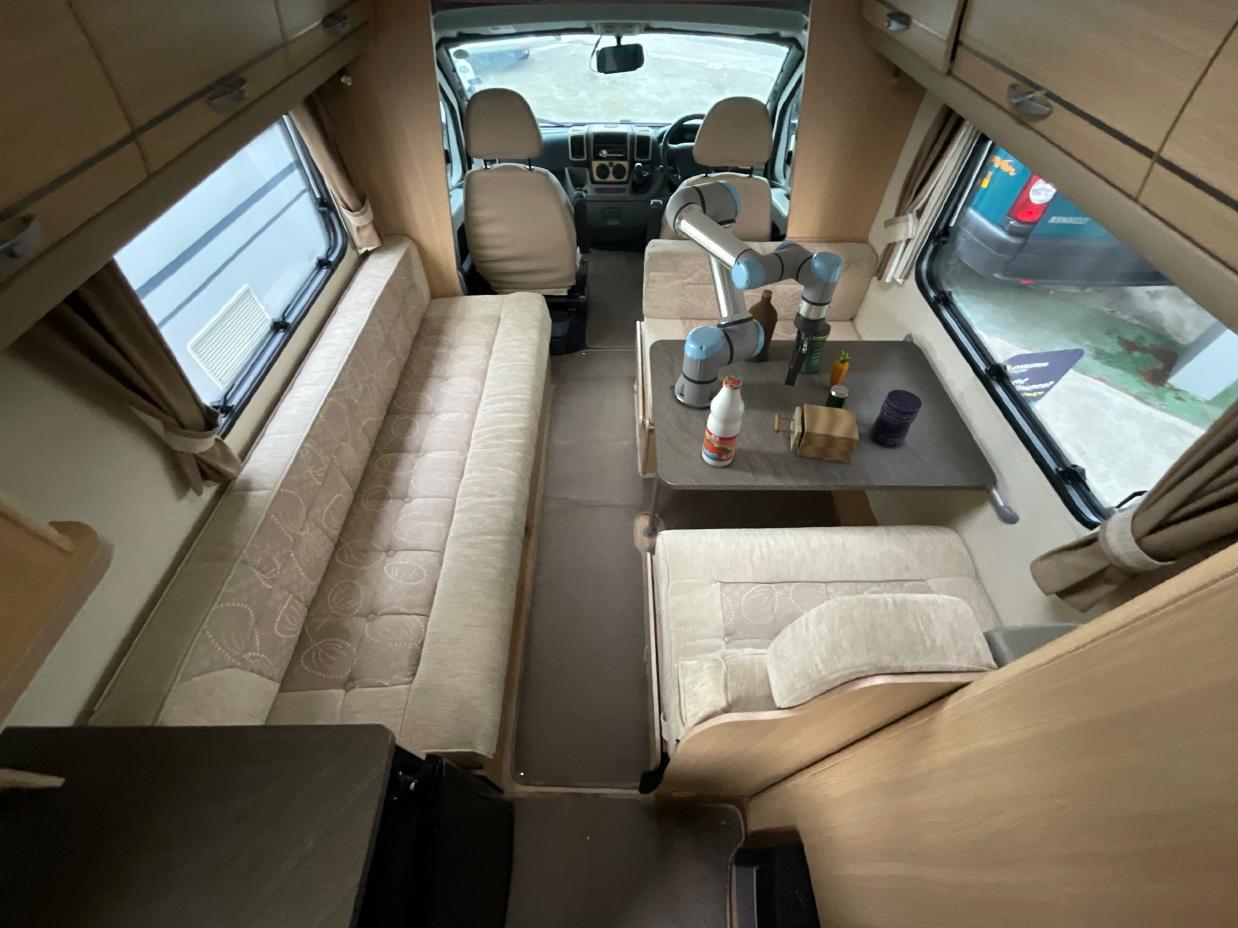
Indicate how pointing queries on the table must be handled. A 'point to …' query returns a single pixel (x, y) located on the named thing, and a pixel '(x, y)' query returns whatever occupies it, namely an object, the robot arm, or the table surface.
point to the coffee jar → (816, 349)
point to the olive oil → (764, 322)
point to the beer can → (837, 397)
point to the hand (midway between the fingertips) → (789, 384)
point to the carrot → (839, 370)
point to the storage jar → (895, 418)
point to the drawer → (792, 427)
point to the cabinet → (828, 433)
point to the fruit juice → (724, 424)
